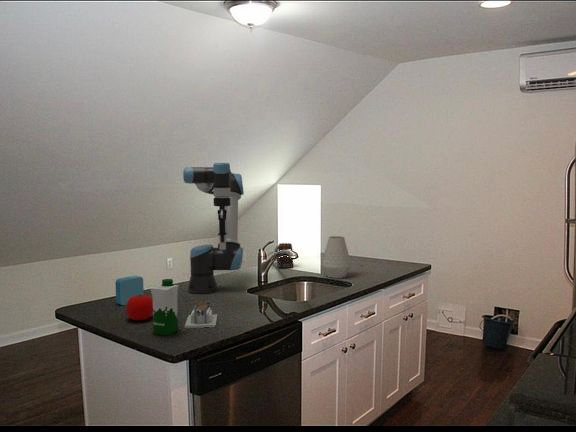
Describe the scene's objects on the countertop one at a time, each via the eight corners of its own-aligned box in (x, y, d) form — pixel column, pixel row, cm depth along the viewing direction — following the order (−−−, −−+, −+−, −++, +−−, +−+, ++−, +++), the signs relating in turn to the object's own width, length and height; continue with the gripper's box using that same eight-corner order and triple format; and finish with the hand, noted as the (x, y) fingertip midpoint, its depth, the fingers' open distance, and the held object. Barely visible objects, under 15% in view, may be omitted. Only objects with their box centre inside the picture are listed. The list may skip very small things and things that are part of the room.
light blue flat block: (138, 299, 237) (138, 274, 235) (144, 300, 234) (143, 276, 232) (115, 304, 228) (115, 279, 226) (121, 306, 225) (120, 280, 223)
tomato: (127, 324, 198) (127, 299, 197) (124, 316, 209) (124, 292, 208) (156, 321, 202) (155, 296, 201) (152, 313, 214) (151, 289, 213)
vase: (343, 272, 297) (343, 234, 294) (356, 278, 280) (356, 238, 278) (316, 274, 291) (316, 235, 289) (328, 280, 275) (328, 240, 273)
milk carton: (181, 329, 192) (180, 279, 190) (168, 337, 183) (166, 284, 182) (162, 327, 195) (161, 277, 193) (148, 334, 187) (147, 282, 185)
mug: (283, 265, 319) (283, 242, 318) (296, 266, 313) (296, 243, 312) (268, 269, 307) (268, 245, 305) (282, 271, 301) (282, 246, 299)
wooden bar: (199, 306, 206) (199, 301, 206) (205, 306, 207) (205, 301, 206) (196, 313, 196) (196, 308, 196) (203, 313, 196) (203, 308, 196)
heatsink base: (188, 317, 208) (188, 299, 207) (217, 316, 209) (216, 298, 208) (184, 328, 194) (184, 308, 193) (215, 327, 195) (215, 307, 194)
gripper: (214, 196, 226) (215, 247, 228) (212, 198, 213) (213, 251, 215) (230, 196, 227) (231, 246, 229) (229, 198, 214) (230, 251, 216)
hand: (222, 249), depth 222 cm, fingers closed
